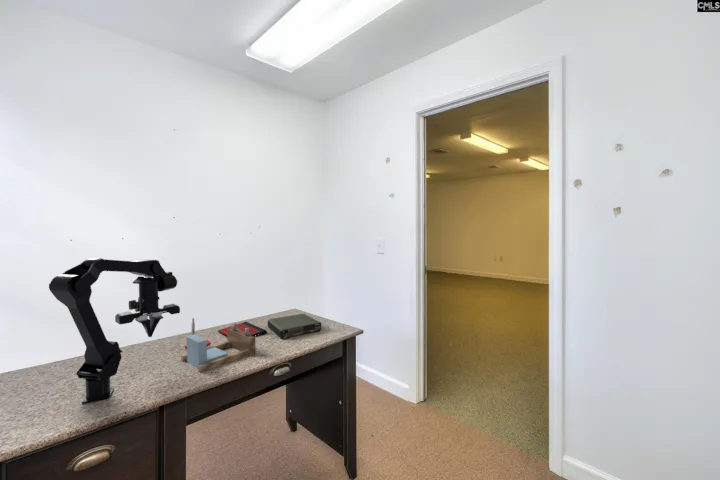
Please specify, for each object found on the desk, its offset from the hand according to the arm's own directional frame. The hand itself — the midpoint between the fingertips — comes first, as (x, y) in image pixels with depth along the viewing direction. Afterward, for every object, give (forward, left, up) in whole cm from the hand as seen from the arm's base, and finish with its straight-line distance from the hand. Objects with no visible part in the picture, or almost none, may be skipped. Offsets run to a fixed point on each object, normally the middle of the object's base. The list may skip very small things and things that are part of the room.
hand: (149, 336), depth 111 cm
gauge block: (-2, -19, -12) cm, 22 cm away
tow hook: (+18, -16, -12) cm, 27 cm away
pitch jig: (0, -23, -12) cm, 26 cm away
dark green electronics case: (+18, -59, -13) cm, 63 cm away
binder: (+26, -35, -13) cm, 45 cm away
